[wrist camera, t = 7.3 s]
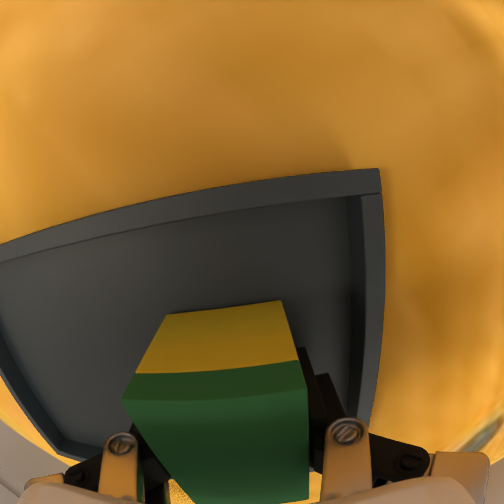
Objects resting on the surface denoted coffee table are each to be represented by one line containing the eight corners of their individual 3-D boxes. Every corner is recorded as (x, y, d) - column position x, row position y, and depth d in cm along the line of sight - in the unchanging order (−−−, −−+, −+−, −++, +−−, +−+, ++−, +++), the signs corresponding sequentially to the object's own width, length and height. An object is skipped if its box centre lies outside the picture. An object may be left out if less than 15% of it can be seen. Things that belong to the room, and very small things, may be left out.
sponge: (166, 313, 10) (118, 399, 5) (281, 298, 10) (307, 389, 5) (207, 427, 12) (197, 506, 7) (293, 419, 12) (309, 499, 7)
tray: (-24, 254, 10) (-45, 263, 8) (355, 169, 10) (379, 168, 8) (66, 438, 14) (57, 454, 12) (351, 436, 13) (360, 460, 11)
